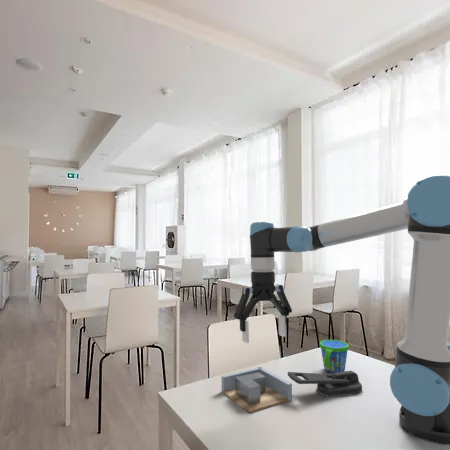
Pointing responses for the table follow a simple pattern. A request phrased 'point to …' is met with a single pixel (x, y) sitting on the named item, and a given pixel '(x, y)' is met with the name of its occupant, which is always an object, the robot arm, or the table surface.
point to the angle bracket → (250, 387)
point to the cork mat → (266, 400)
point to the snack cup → (334, 355)
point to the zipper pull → (331, 382)
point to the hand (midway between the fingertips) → (264, 338)
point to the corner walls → (270, 381)
